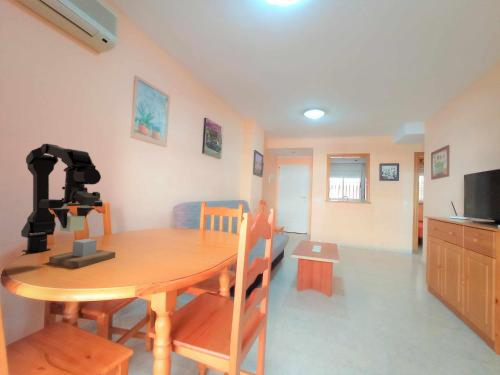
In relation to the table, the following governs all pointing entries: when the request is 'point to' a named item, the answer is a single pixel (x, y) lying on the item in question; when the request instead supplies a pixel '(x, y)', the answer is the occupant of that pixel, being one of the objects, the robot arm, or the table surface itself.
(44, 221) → the robot arm
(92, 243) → the slate block
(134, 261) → the table surface
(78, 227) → the sage block
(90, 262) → the walnut base
